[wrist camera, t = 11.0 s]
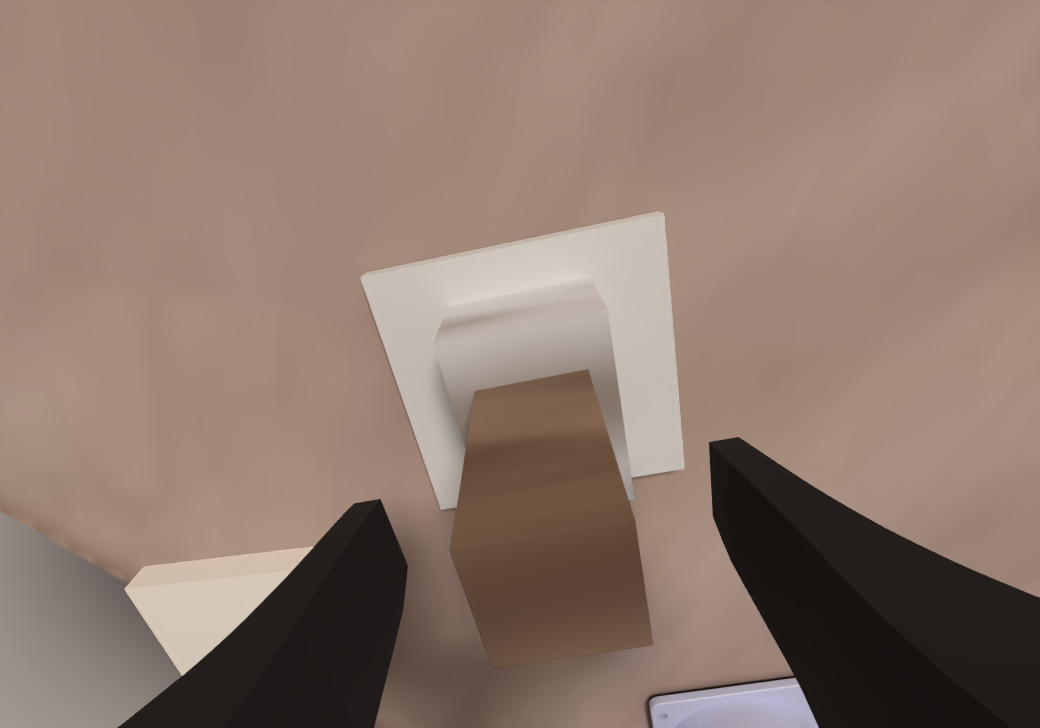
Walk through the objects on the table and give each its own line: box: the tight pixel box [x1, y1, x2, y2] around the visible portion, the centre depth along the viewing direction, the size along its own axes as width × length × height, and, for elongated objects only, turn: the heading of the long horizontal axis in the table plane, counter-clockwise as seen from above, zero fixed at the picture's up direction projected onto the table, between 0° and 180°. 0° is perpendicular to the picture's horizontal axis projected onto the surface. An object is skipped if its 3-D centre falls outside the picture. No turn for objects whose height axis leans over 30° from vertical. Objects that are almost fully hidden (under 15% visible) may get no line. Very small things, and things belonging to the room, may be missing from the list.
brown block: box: [433, 277, 653, 669], centre depth 12 cm, size 6×4×8 cm
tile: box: [125, 547, 313, 676], centre depth 21 cm, size 7×2×8 cm
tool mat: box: [360, 211, 685, 510], centre depth 17 cm, size 9×9×1 cm
